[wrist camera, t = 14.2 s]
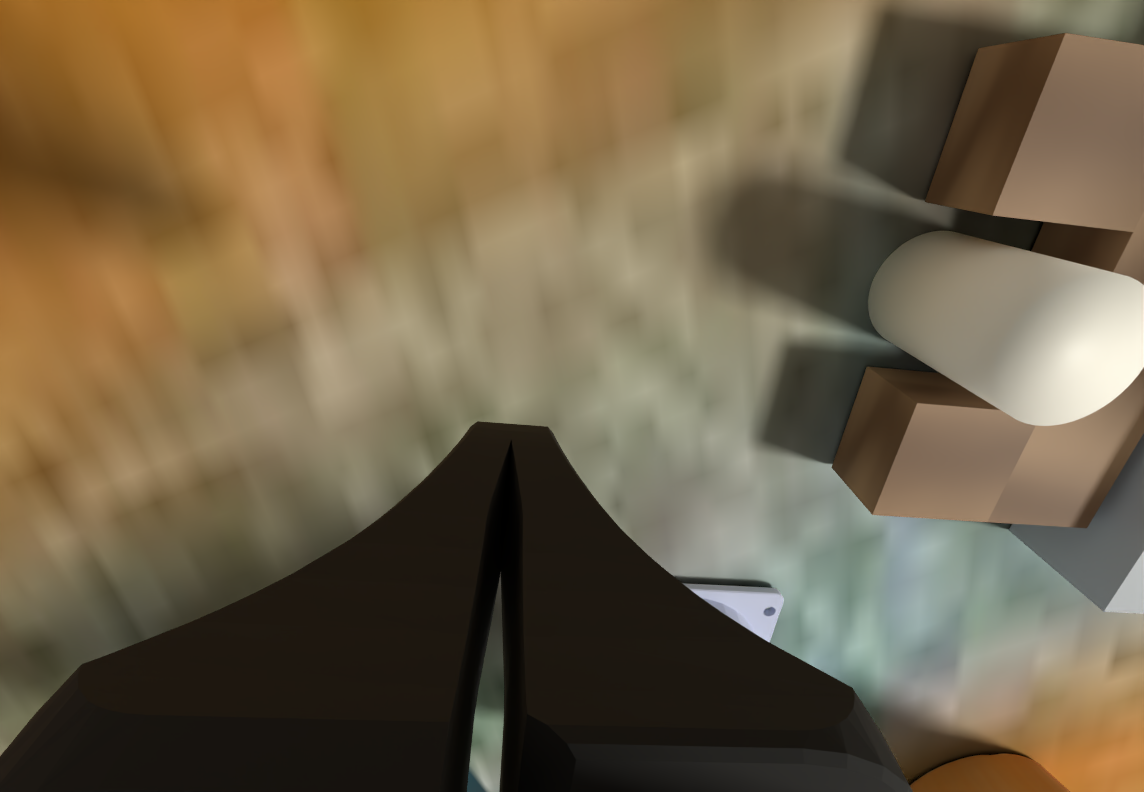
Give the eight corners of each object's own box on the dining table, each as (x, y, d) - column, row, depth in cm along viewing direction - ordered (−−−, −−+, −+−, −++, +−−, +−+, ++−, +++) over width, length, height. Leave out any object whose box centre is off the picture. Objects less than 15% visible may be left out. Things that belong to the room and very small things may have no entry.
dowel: (963, 348, 21) (1114, 427, 15) (854, 345, 20) (970, 425, 15) (1003, 232, 19) (1189, 275, 14) (885, 228, 19) (1028, 270, 13)
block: (1022, 480, 23) (1087, 528, 20) (831, 467, 22) (872, 514, 20) (1226, 85, 17) (1355, 77, 15) (978, 47, 16) (1065, 33, 14)
